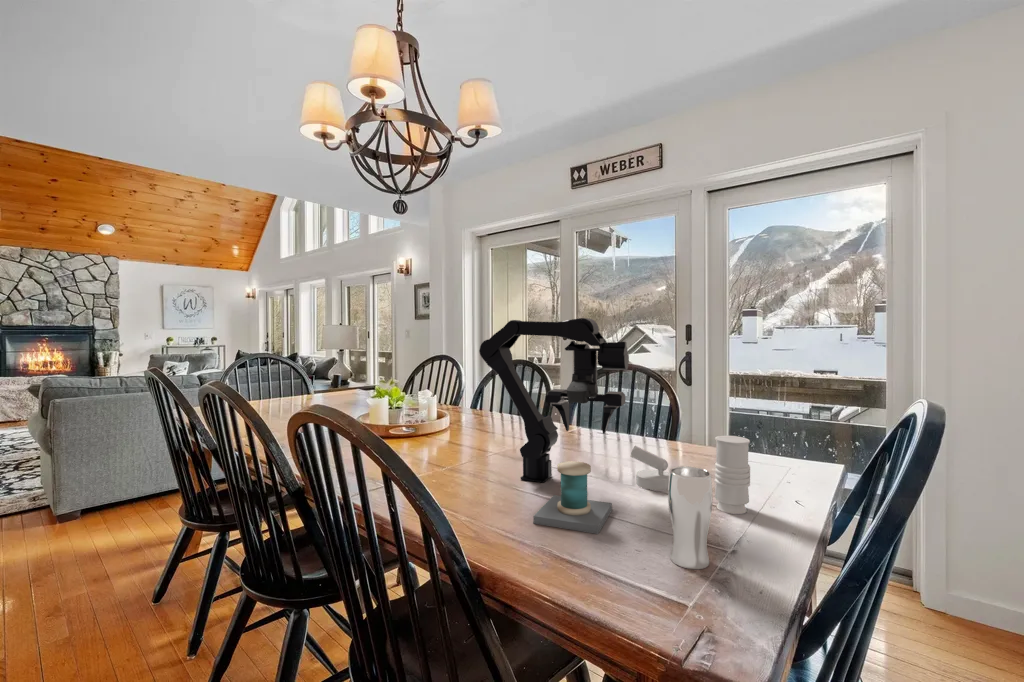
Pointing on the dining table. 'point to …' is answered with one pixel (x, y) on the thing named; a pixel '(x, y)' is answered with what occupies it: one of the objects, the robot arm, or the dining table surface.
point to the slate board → (574, 516)
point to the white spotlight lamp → (651, 477)
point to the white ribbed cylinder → (732, 474)
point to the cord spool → (574, 488)
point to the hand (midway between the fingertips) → (585, 432)
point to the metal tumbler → (690, 515)
